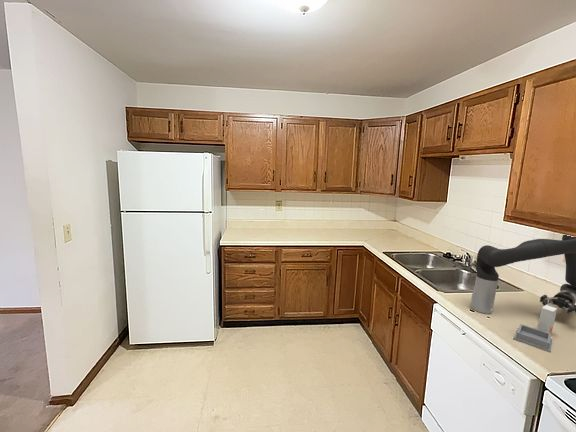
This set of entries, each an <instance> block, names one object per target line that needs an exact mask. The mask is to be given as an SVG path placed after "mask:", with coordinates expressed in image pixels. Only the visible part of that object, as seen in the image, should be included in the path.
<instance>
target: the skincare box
mask: <svg viewBox="0 0 576 432" xmlns="http://www.w3.org/2000/svg"><path fill="white" fill-rule="evenodd" d="M557 311H558V308H556V307H554V306H552V305H549V304H547V305H545V306H544V305H543V306H542V307H541V309H540V313H539V314H540V315H539V319H538V321H537V322H538V323H537V326H536V329H538V330H541V331H544V332H547V333H551V334H552V333H553V329H554V323H555V321H556V320H555V319H556V316H557Z"/></svg>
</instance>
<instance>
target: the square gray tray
mask: <svg viewBox="0 0 576 432" xmlns="http://www.w3.org/2000/svg"><path fill="white" fill-rule="evenodd" d="M513 340H514V341H517V342H519V343H522V344H525V345H528V346H530V347H534V348H537V349H539V350H543V351H545V352H546V353H547V352H548V353H551V351H552V345H553V338H552V333H547V332H544V331H541V330H538V329H537V328H534V327H532V326H528V325H525V324H523V323H519V326H518V327H517V328H516V330H515V334H514V336H513Z"/></svg>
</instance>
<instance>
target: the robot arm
mask: <svg viewBox="0 0 576 432" xmlns="http://www.w3.org/2000/svg"><path fill="white" fill-rule="evenodd" d="M560 255H564V259H565V260H564V261H565V278H564V279H565V283H563V284H561V286H560V288H559V289H560V290H559V291H558V292H557V293H556V294H554V296H553V297H549V296H548V295H547V294H544V295H541V296H540V297H539V302H540V303H541V304H542V305H543V306H545V305H549V306H556V307H558V308H560V309H562V310H566V313H568V314H572V313H573V312H574V313H576V237H571V236H567V235H563V234H562V235H561V239H550V238H536V239H529V240H525V241H522V242H520V243H519V244H518V245H516V246H515V247H511V248H501V249H500V248H498V247H494V246H492V245H487V244H486V245H483V246H481V247H480V248H479V249H478V251H477V255H476V261H475V262H476V263H475V271H476V275H475V283H474V288H473V290H472V292H471V293H472V294H471V300H470V306H469V308H470V309H472V310H474V311H476V312H478V313H480V314H489V315H490V314H492V313H493V310H494V305H495V299H496V294H497V288H498V283H499V277H500V276H499V273H498V272H497V270H496V268H499V267H504V266H508V265H510V264H515V263H518V262H525V261H530V260H537V259H544V258H547V257H554V256H560Z"/></svg>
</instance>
